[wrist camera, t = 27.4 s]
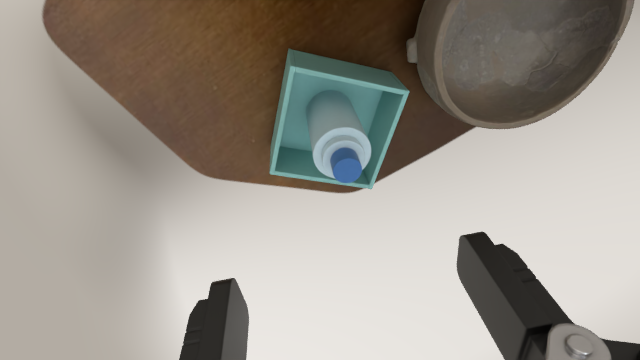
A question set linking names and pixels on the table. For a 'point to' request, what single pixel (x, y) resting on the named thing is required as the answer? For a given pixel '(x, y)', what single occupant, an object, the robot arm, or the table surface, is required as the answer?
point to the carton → (368, 102)
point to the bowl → (513, 55)
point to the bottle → (337, 137)
